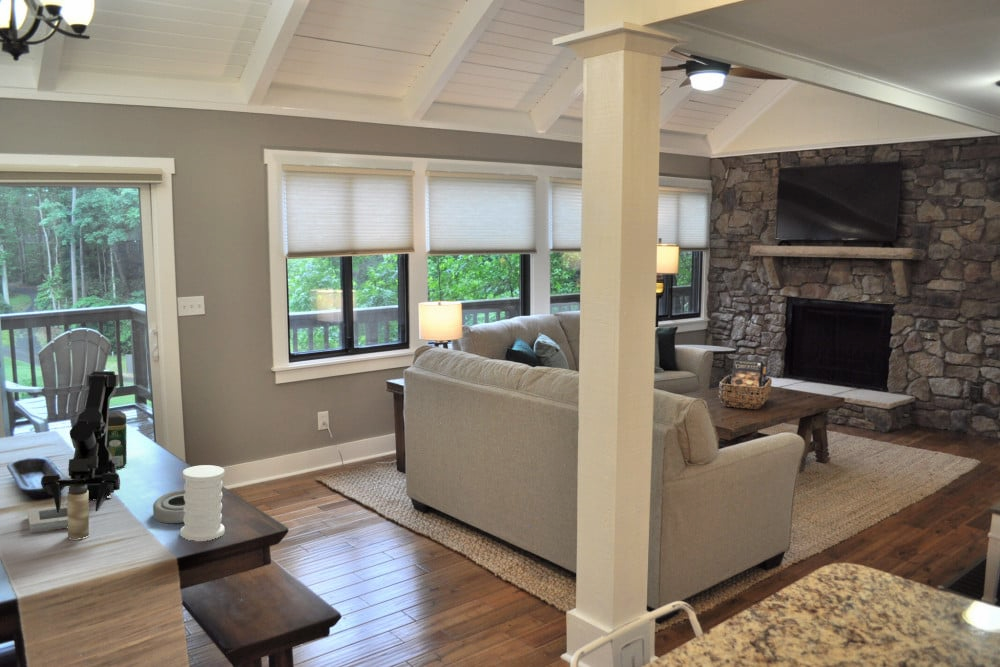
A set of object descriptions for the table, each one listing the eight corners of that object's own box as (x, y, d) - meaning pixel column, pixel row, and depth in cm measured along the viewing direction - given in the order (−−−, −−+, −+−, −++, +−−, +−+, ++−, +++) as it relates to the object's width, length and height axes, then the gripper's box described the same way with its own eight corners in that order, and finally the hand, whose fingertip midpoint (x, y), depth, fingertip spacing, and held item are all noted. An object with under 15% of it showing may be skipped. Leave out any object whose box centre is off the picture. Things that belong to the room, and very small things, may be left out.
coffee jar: (100, 461, 277) (101, 409, 274) (126, 459, 280) (126, 408, 278) (101, 470, 268) (101, 416, 265) (126, 468, 272) (127, 415, 269)
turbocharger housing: (142, 520, 232) (175, 533, 225) (140, 499, 231) (174, 511, 223) (191, 501, 246) (224, 512, 239) (190, 481, 245) (223, 492, 237)
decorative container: (193, 544, 215) (194, 480, 212) (172, 531, 222) (173, 469, 220) (232, 534, 223) (233, 472, 221) (211, 522, 231) (212, 462, 228)
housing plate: (76, 512, 231) (76, 503, 231) (80, 526, 221) (80, 518, 221) (28, 517, 225) (27, 509, 224) (29, 533, 215) (29, 524, 214)
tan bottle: (87, 531, 218) (87, 482, 216) (89, 538, 214) (89, 488, 212) (67, 534, 215) (66, 484, 214) (68, 541, 211) (68, 490, 209)
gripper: (42, 445, 212) (31, 499, 203) (118, 444, 218) (112, 497, 209) (49, 465, 221) (39, 517, 212) (123, 463, 226) (116, 514, 218)
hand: (77, 511), depth 212 cm, fingers open, 9 cm apart
